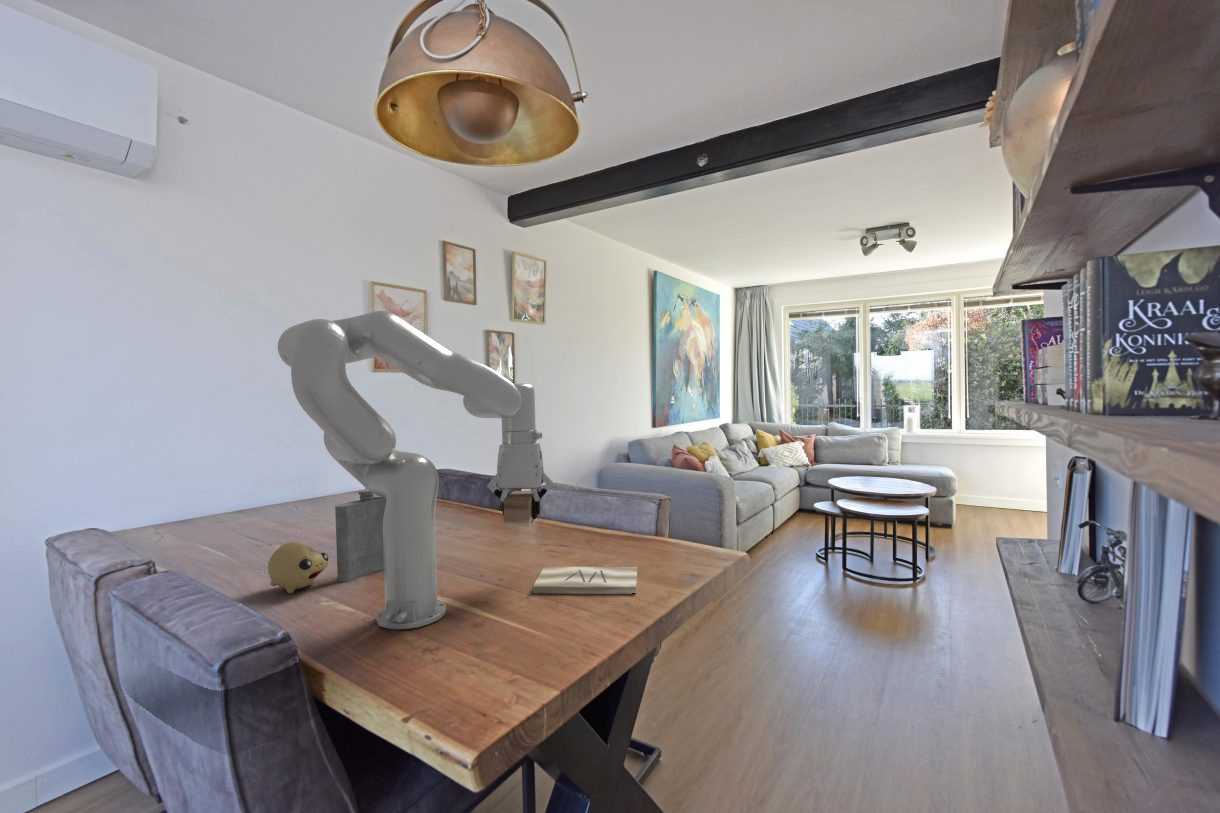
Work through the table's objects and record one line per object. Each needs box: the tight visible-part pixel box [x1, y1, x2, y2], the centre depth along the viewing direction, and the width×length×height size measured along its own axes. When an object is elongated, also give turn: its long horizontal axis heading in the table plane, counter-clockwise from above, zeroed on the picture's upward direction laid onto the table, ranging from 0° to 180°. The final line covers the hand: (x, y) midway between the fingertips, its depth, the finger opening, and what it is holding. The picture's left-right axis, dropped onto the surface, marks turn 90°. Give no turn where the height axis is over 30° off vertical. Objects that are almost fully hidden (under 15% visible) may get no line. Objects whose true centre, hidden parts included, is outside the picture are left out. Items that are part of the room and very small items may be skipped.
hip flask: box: [334, 488, 387, 583], centre depth 133 cm, size 16×4×20 cm, turn 145°
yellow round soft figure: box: [267, 540, 329, 594], centre depth 122 cm, size 10×12×11 cm
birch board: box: [532, 566, 638, 595], centre depth 123 cm, size 13×22×2 cm, turn 86°
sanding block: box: [503, 490, 536, 528], centre depth 124 cm, size 10×6×6 cm, turn 177°
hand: (521, 517), depth 124 cm, fingers closed on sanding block, 5 cm apart
